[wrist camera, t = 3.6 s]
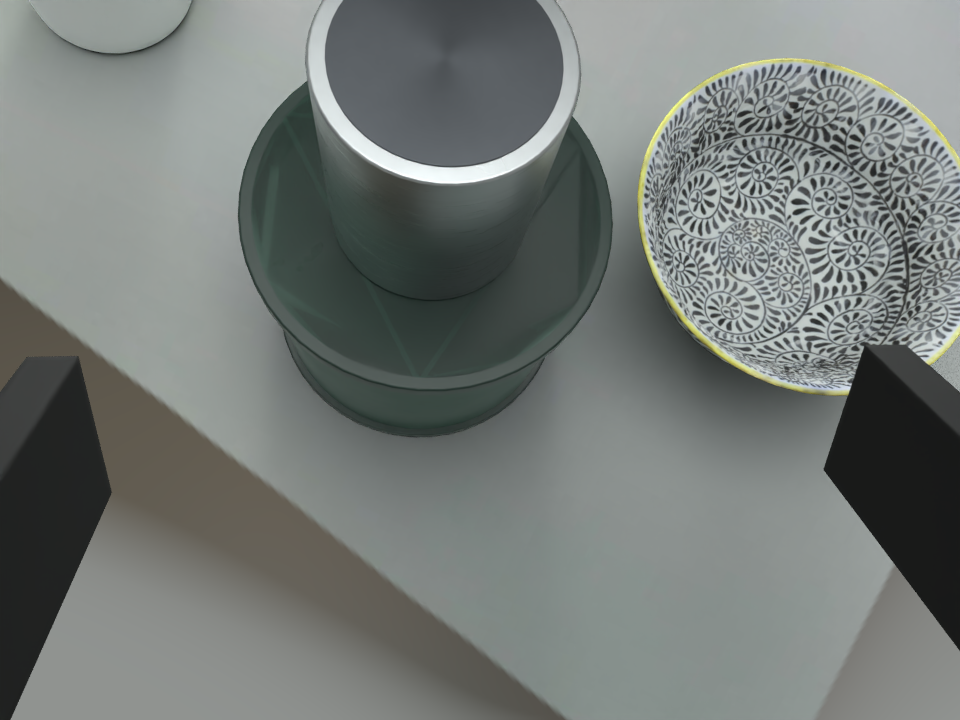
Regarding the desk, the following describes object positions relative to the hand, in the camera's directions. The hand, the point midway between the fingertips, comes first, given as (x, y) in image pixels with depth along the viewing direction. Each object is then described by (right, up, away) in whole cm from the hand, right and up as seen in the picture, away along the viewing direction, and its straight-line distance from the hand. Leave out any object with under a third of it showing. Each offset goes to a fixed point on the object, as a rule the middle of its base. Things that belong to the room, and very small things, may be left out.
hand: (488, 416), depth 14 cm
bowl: (+14, +5, +29) cm, 32 cm away
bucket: (-3, +4, +26) cm, 27 cm away
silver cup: (-2, +7, +16) cm, 17 cm away
